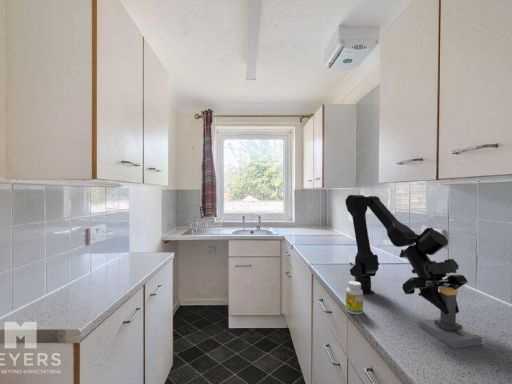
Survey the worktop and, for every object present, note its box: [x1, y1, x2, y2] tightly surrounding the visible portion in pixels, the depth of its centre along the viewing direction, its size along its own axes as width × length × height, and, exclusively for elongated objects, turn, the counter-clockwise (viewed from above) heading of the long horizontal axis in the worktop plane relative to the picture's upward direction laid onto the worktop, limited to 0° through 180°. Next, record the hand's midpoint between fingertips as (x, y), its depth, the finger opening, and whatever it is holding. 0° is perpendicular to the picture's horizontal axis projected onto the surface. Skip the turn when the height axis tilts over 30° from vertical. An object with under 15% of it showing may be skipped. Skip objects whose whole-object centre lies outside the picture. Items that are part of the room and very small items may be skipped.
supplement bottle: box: [345, 280, 364, 315], centre depth 89 cm, size 5×5×10 cm
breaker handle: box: [434, 287, 463, 331], centre depth 75 cm, size 4×5×11 cm
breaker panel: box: [419, 317, 483, 349], centre depth 75 cm, size 11×9×2 cm
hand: (452, 313), depth 74 cm, fingers closed on breaker handle, 3 cm apart
